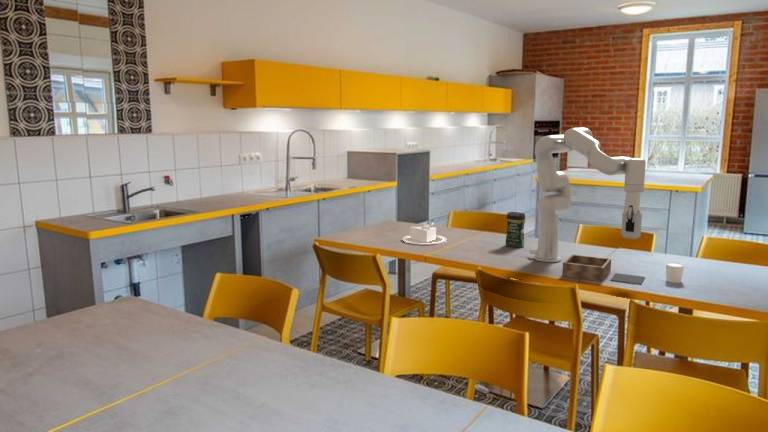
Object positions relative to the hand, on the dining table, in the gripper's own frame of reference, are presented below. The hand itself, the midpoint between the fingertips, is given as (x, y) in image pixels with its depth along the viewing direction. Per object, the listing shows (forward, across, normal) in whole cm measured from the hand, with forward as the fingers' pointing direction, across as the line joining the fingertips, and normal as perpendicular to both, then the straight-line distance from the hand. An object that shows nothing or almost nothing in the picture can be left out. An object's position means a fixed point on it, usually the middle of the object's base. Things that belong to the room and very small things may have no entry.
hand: (631, 229), depth 240 cm
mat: (+22, 0, 0) cm, 22 cm away
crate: (+22, 0, -17) cm, 28 cm away
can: (+4, 0, 0) cm, 4 cm away
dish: (+22, -26, -111) cm, 116 cm away
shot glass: (+22, -7, +17) cm, 29 cm away
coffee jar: (+22, -37, -62) cm, 75 cm away
